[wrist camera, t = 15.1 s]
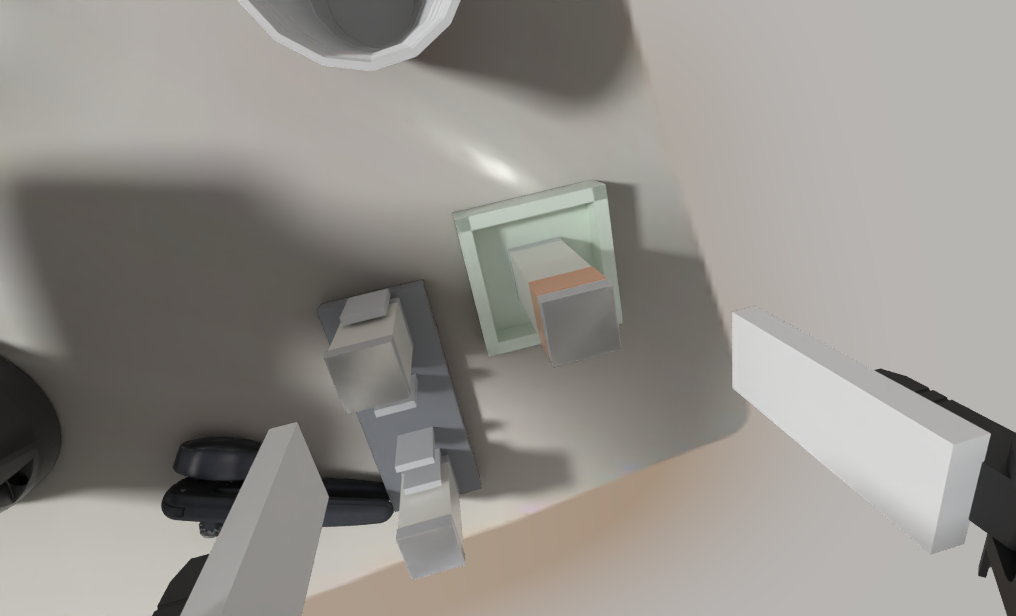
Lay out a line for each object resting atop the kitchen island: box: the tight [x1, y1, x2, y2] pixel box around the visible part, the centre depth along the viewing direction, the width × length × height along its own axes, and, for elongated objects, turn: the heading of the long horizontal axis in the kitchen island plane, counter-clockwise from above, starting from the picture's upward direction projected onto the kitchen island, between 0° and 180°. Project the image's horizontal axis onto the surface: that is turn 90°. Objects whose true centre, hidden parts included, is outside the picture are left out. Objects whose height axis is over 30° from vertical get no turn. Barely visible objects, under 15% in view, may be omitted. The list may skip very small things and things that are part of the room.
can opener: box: [161, 437, 394, 538], centre depth 40 cm, size 18×7×6 cm, turn 71°
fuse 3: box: [508, 237, 622, 368], centre depth 33 cm, size 4×4×12 cm
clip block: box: [317, 279, 481, 512], centre depth 39 cm, size 8×21×6 cm, turn 12°
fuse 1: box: [324, 297, 414, 414], centre depth 34 cm, size 4×4×8 cm
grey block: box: [396, 454, 466, 580], centre depth 39 cm, size 4×4×8 cm
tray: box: [453, 180, 623, 357], centre depth 38 cm, size 11×11×3 cm
